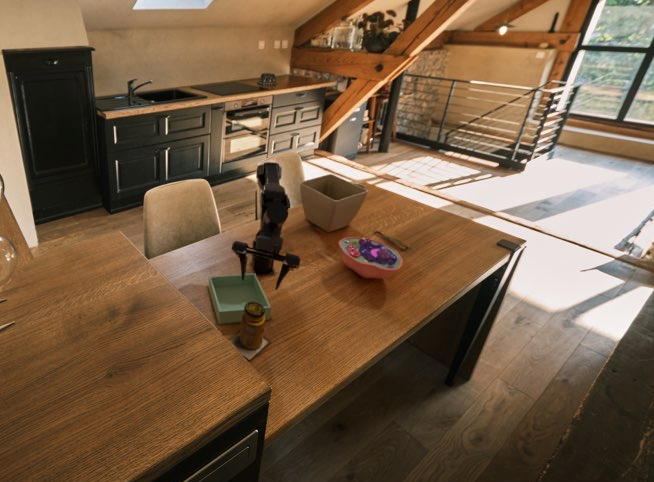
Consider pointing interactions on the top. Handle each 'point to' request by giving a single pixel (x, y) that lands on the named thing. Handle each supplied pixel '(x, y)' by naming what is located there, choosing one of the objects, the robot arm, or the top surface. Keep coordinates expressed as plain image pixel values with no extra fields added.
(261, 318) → the condiment
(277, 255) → the robot arm
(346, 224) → the flower pot
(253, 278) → the tray
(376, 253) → the cell model
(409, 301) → the top surface
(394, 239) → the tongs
